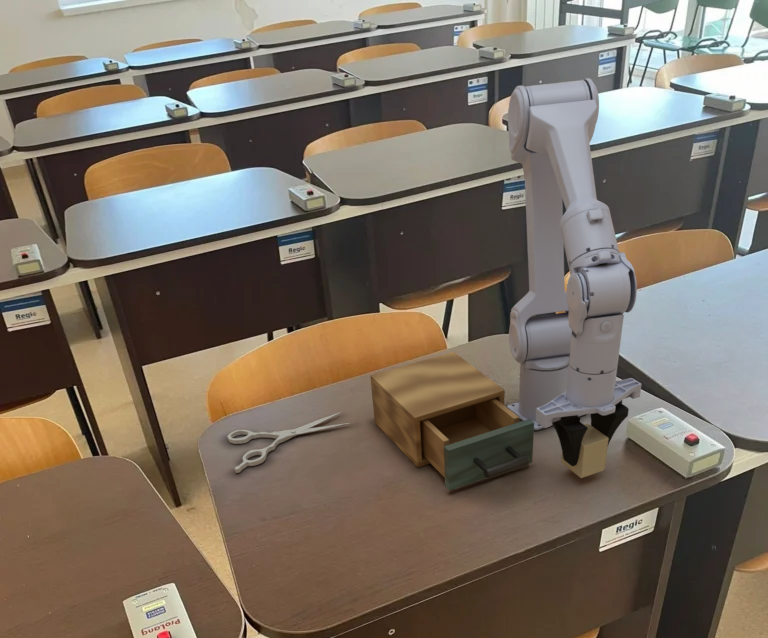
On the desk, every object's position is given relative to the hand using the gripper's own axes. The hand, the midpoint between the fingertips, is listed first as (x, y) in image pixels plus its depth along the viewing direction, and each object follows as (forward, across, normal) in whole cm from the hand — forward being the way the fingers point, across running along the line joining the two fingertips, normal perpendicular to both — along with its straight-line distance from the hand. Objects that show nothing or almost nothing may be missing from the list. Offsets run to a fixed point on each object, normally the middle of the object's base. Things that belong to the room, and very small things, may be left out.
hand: (583, 457), depth 100 cm
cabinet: (+3, -11, +20) cm, 23 cm away
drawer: (+2, -11, +10) cm, 15 cm away
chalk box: (+1, 0, 0) cm, 1 cm away
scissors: (+3, -31, +30) cm, 44 cm away
